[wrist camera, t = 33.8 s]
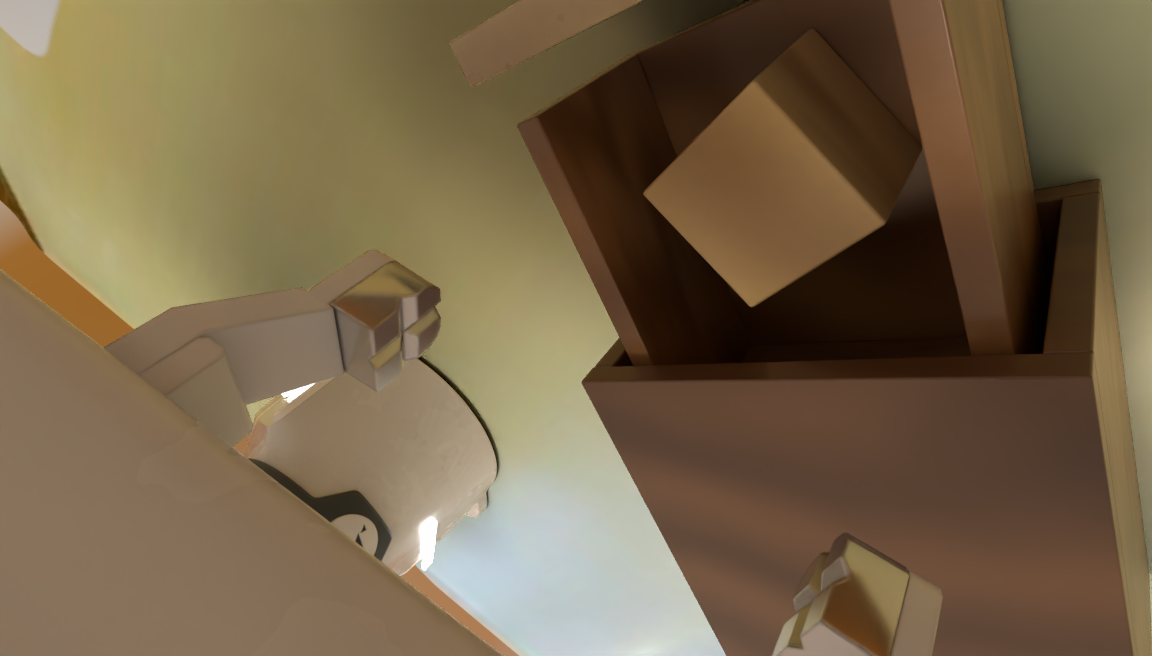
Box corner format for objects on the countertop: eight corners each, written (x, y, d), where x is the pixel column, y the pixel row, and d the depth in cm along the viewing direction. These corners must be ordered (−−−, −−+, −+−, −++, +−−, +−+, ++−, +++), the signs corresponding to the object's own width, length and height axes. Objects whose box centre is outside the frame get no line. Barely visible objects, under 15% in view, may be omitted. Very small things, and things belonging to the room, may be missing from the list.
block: (800, 234, 21) (750, 309, 18) (705, 133, 20) (640, 194, 18) (924, 147, 17) (886, 224, 14) (812, 25, 17) (752, 79, 14)
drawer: (507, -212, 19) (324, -201, 14) (950, -635, 11) (842, -886, 7) (734, 347, 26) (659, 463, 22) (1089, 330, 19) (1081, 504, 14)
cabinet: (693, 248, 26) (580, 382, 20) (1100, 178, 17) (1092, 376, 12) (806, 524, 32) (741, 685, 26) (1149, 574, 23) (1159, 828, 18)
